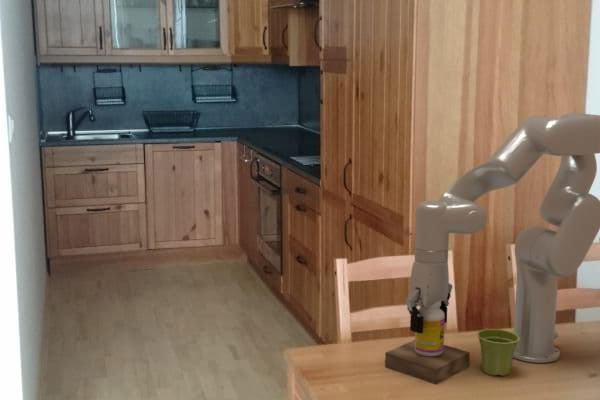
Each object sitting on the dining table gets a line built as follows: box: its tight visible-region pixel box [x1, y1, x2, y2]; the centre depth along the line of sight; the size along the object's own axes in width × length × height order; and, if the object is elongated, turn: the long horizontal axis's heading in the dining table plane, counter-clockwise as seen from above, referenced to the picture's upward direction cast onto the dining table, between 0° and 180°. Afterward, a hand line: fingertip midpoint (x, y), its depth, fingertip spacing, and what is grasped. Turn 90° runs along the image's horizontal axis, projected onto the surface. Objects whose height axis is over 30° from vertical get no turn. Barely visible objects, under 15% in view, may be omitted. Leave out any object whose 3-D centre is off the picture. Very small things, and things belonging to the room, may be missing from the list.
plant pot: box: [476, 328, 520, 377], centre depth 174 cm, size 9×9×9 cm
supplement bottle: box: [414, 301, 445, 357], centre depth 175 cm, size 7×7×13 cm
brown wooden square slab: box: [384, 339, 471, 385], centre depth 177 cm, size 14×14×4 cm
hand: (428, 326), depth 175 cm, fingers open, 9 cm apart
